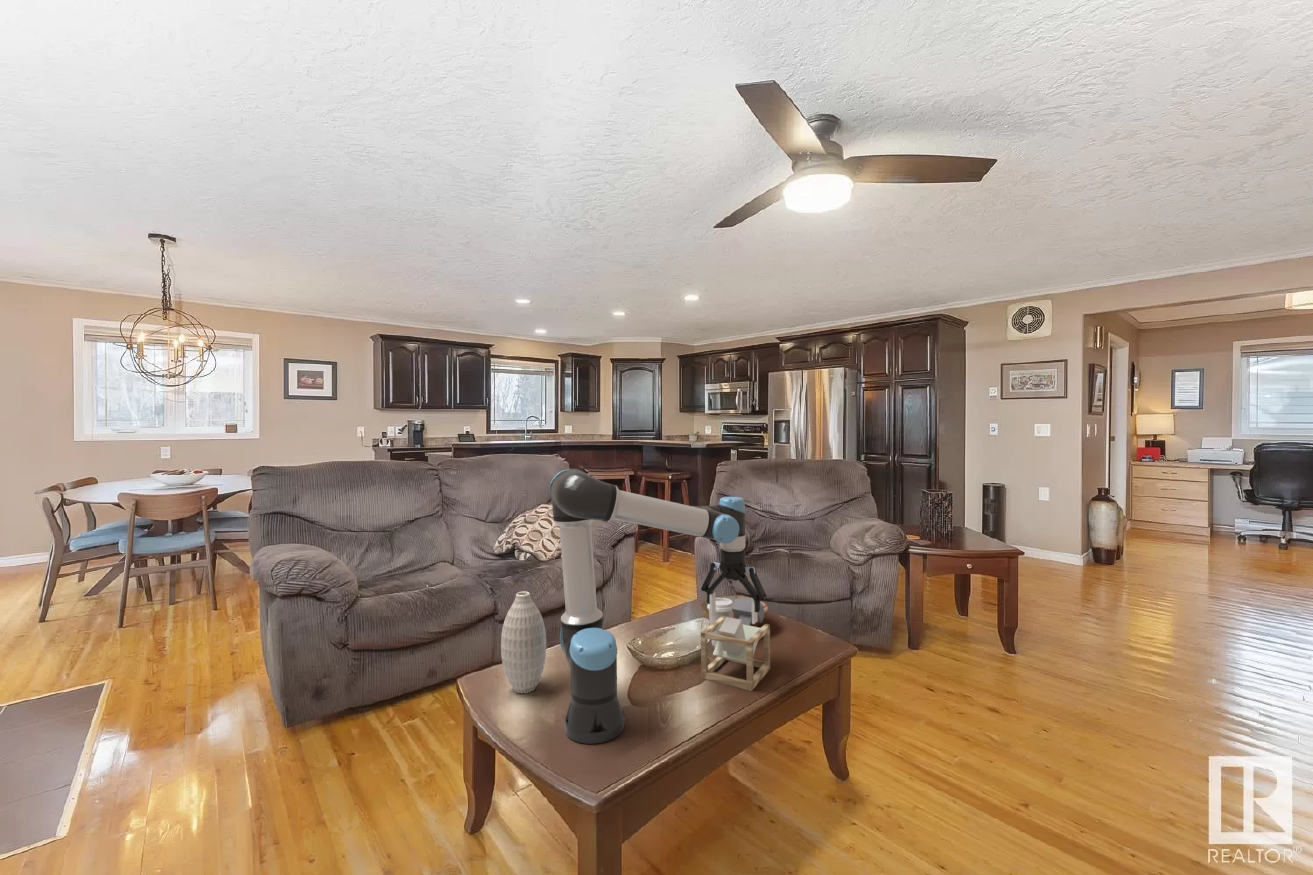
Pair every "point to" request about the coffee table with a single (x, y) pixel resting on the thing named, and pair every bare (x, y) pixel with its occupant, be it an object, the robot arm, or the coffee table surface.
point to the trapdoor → (744, 613)
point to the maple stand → (708, 670)
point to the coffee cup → (721, 613)
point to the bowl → (706, 610)
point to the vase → (523, 644)
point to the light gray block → (732, 633)
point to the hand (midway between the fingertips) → (733, 618)
